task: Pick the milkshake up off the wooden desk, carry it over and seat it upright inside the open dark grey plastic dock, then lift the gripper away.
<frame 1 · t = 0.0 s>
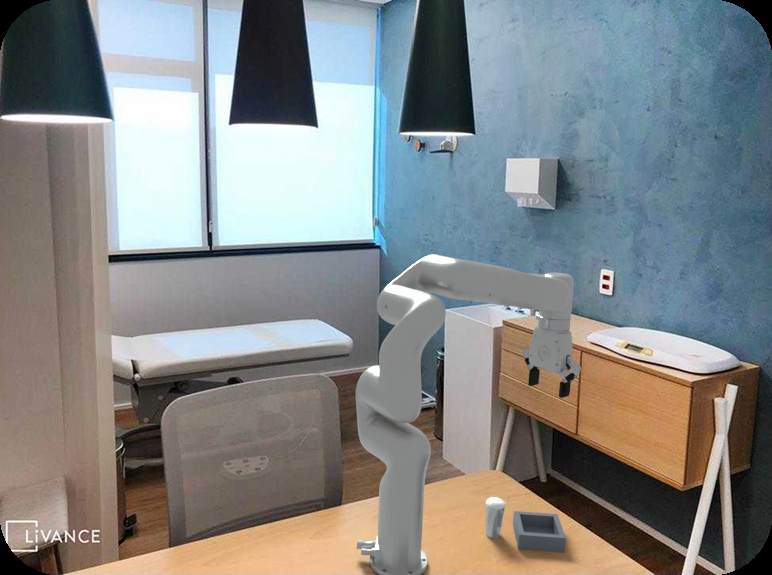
hand: (548, 390, 163), 31 cm above the table, tool pointing down, fingers open, 9 cm apart
milkshake: (494, 535, 155), on the table
dock: (537, 538, 154), on the table
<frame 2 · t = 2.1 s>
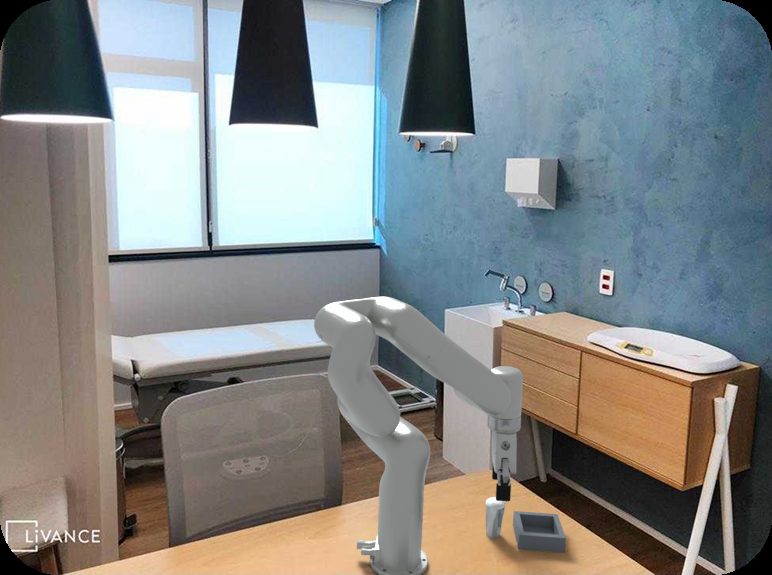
hand: (500, 489, 153), 11 cm above the table, tool pointing down, fingers open, 9 cm apart
nothing on the table moved.
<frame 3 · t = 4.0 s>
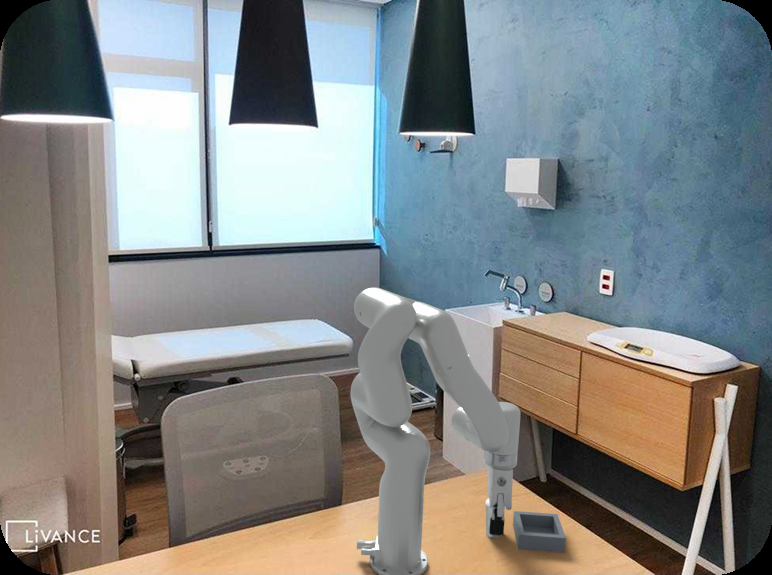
hand: (495, 527, 154), 2 cm above the table, tool pointing down, fingers closed on milkshake, 4 cm apart
milkshake: (494, 535, 155), on the table, touching gripper
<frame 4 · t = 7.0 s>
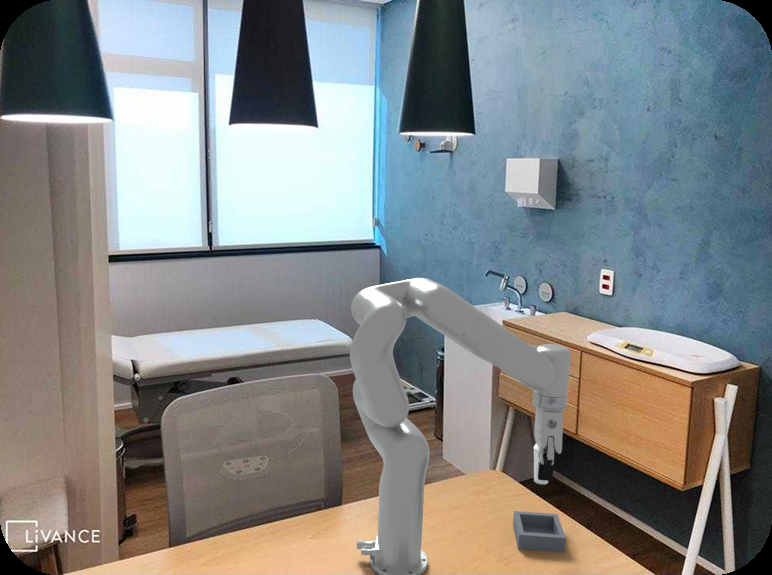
hand: (543, 474, 151), 16 cm above the table, tool pointing down, fingers closed on milkshake, 4 cm apart
milkshake: (542, 482, 151), point 14 cm above the table, touching gripper
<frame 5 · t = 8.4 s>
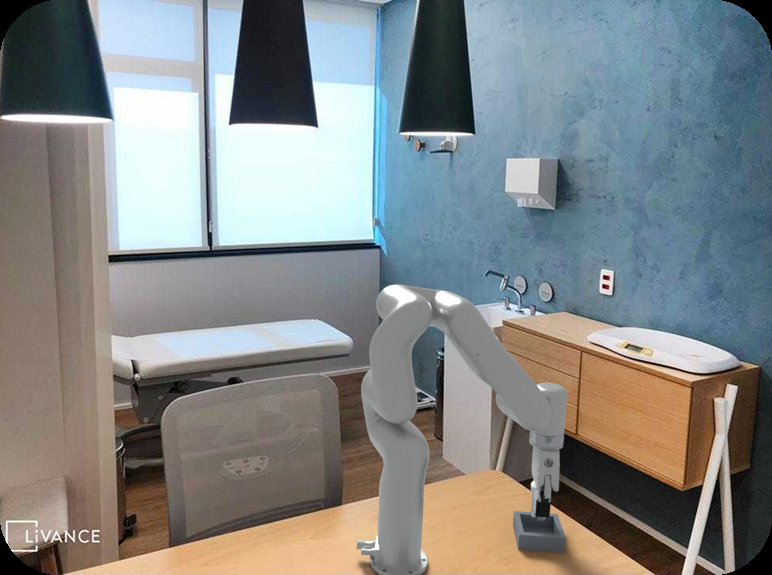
hand: (540, 510, 153), 7 cm above the table, tool pointing down, fingers closed on milkshake, 4 cm apart
milkshake: (540, 518, 153), point 5 cm above the table, touching gripper
when the fingers open (4 cm above the table, at t = 9.8 s): milkshake drops 1 cm, resting on dock.
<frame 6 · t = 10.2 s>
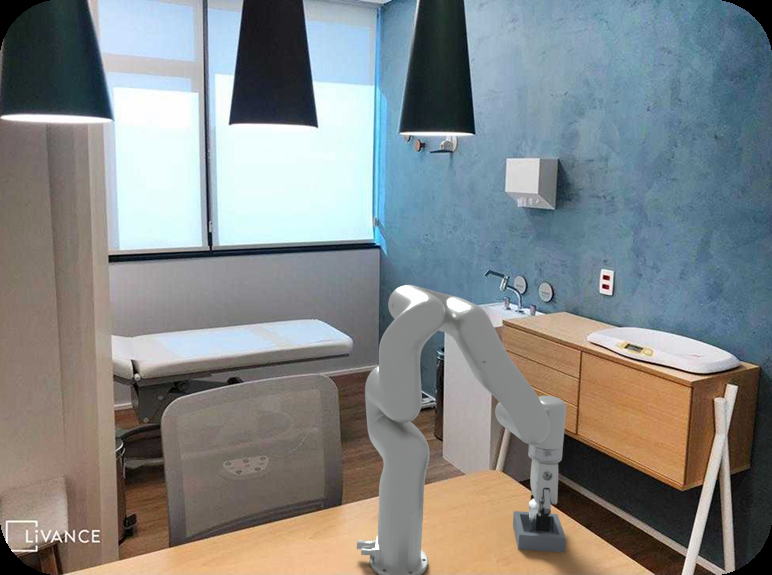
hand: (539, 520, 153), 5 cm above the table, tool pointing down, fingers open, 8 cm apart
milkshake: (537, 537, 154), resting on dock
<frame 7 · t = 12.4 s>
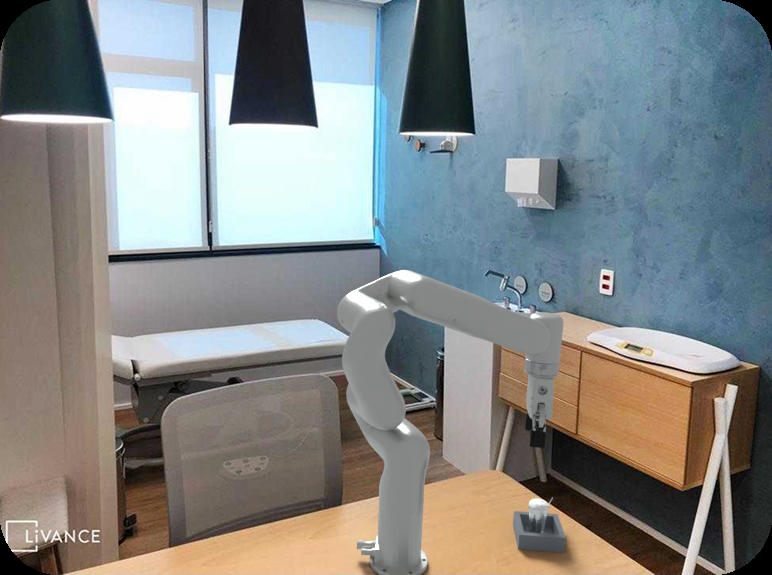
hand: (534, 438, 152), 24 cm above the table, tool pointing down, fingers open, 9 cm apart
nothing on the table moved.
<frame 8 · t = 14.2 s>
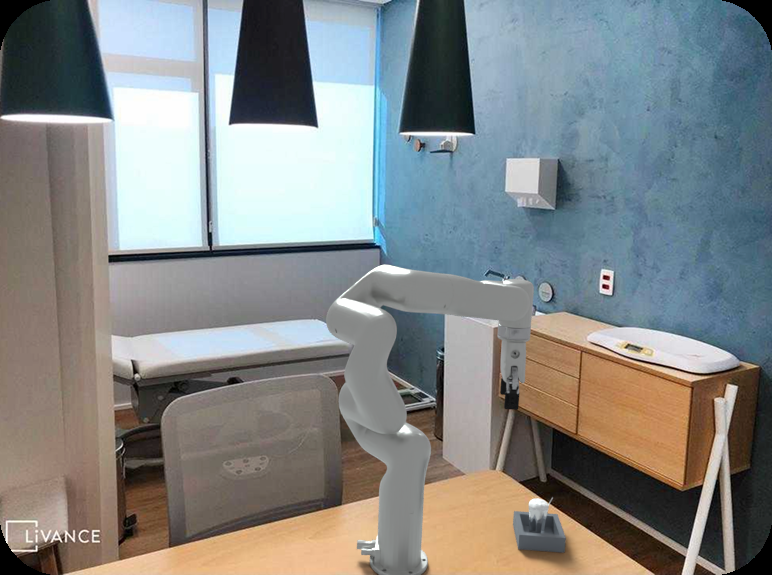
hand: (508, 401, 157), 30 cm above the table, tool pointing down, fingers open, 9 cm apart
nothing on the table moved.
at the end: milkshake 0.4 cm off-centre on the dock, point 0.4 cm above the dock's base; milkshake tilted 0°; the gripper is holding nothing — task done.
